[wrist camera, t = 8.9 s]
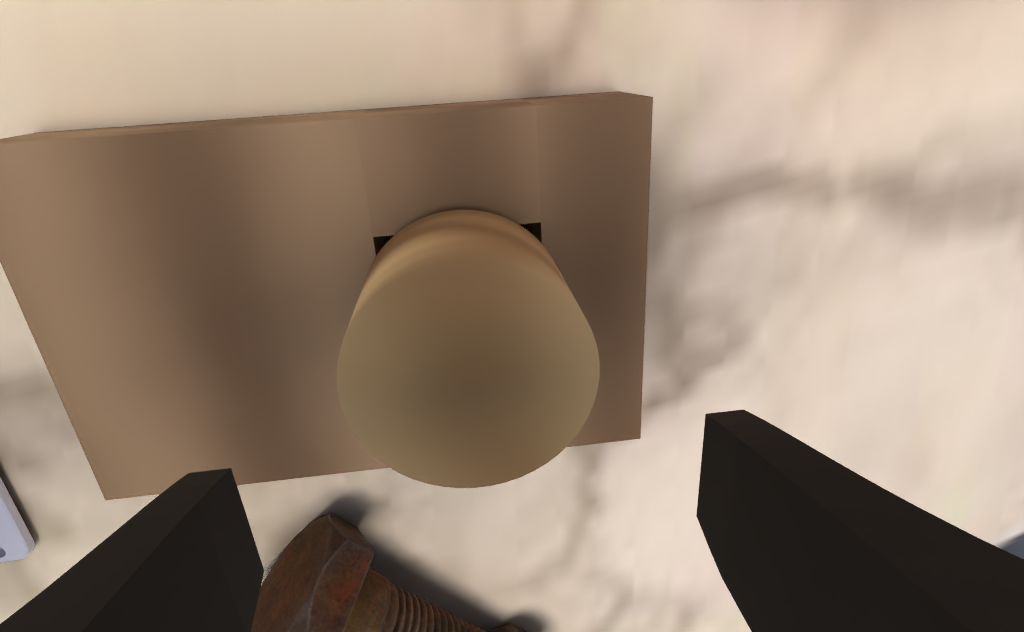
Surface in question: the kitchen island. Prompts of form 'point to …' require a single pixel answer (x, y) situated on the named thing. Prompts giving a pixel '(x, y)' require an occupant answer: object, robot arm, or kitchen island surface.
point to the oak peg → (466, 353)
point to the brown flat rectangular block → (296, 265)
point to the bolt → (343, 590)
